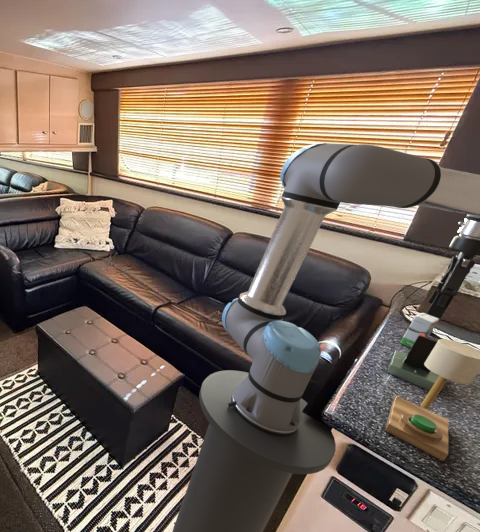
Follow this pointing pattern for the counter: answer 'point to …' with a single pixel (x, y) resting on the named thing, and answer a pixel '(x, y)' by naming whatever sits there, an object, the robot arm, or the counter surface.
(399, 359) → the dimmer
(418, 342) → the black thin upright slab
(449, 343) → the lamp
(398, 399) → the lamp base
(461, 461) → the counter surface
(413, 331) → the ink box
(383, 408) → the counter surface
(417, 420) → the lamp button
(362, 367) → the counter surface
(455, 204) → the robot arm
